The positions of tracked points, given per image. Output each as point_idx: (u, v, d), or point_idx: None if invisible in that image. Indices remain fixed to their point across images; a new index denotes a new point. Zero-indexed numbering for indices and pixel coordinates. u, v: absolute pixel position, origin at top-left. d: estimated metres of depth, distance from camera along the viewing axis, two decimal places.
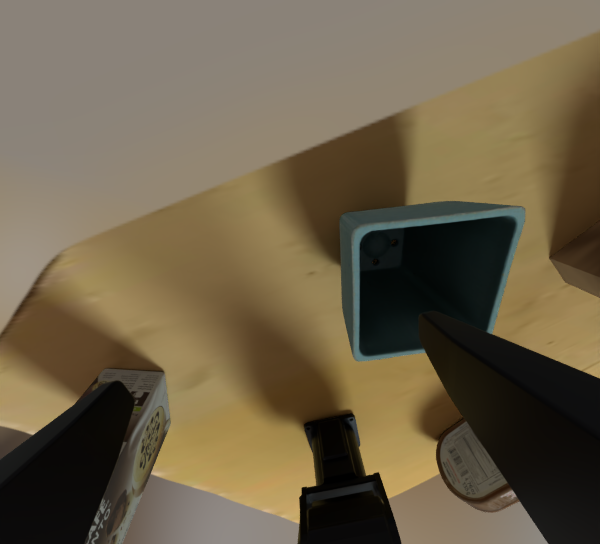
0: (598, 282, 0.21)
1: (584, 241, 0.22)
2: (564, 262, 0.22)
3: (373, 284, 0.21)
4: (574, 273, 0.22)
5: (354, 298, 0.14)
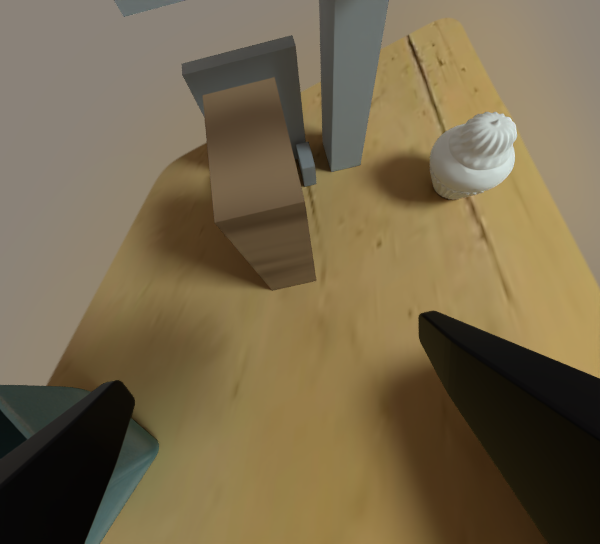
0: (274, 275, 0.18)
1: None
2: None
3: None
4: (281, 281, 0.20)
5: None
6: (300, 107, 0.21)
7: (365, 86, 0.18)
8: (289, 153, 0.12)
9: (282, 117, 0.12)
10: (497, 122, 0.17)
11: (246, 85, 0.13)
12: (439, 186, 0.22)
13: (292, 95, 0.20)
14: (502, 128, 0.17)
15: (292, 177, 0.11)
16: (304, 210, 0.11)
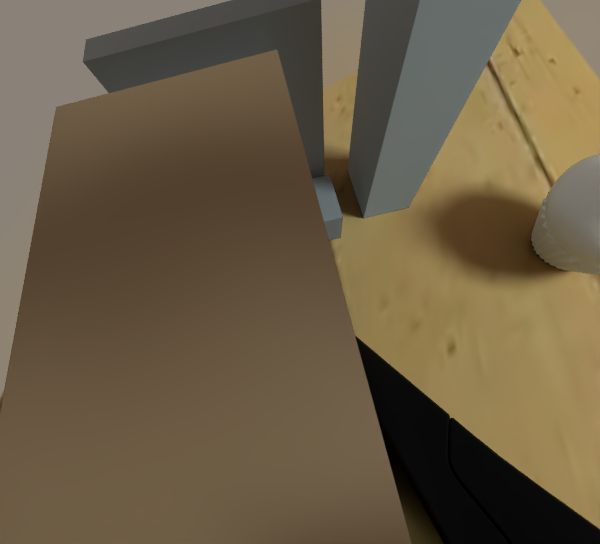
0: None
1: None
2: None
3: None
4: None
5: None
6: (320, 122, 0.12)
7: (460, 84, 0.09)
8: (352, 380, 0.02)
9: (308, 192, 0.03)
10: None
11: (189, 76, 0.04)
12: (558, 255, 0.13)
13: (309, 101, 0.11)
14: None
15: None
16: None
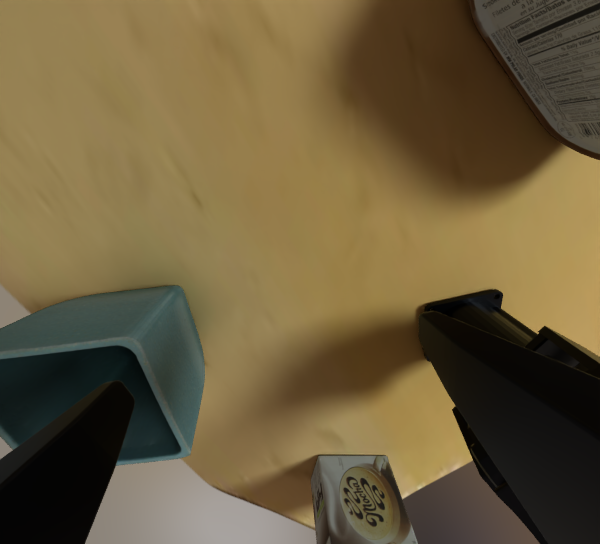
0: None
1: None
2: None
3: None
4: None
5: None
6: None
7: None
8: None
9: None
10: None
11: None
12: None
13: None
14: None
15: None
16: None
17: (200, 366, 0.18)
